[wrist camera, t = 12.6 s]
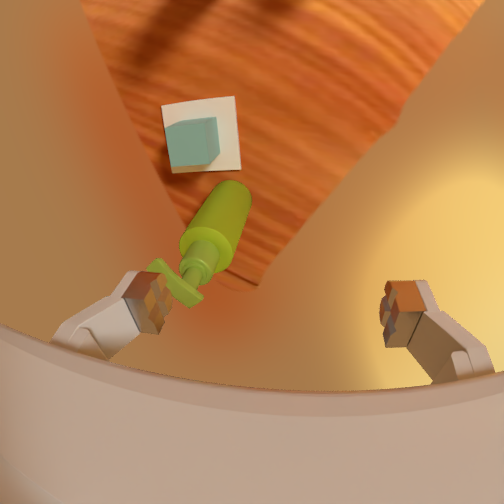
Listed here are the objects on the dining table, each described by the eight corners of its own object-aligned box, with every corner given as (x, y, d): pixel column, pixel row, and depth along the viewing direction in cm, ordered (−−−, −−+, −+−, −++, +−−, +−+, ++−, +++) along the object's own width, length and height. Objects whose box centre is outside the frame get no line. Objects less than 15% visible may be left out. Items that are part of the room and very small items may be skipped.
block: (180, 120, 34) (164, 127, 30) (216, 116, 34) (204, 122, 30) (185, 155, 37) (171, 167, 33) (220, 152, 36) (209, 164, 32)
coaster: (162, 105, 34) (161, 105, 33) (234, 95, 32) (234, 96, 32) (173, 172, 39) (172, 173, 39) (241, 168, 38) (240, 169, 37)
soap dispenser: (226, 166, 38) (167, 249, 22) (260, 201, 40) (230, 303, 24) (198, 192, 41) (133, 281, 24) (231, 224, 43) (189, 327, 27)
